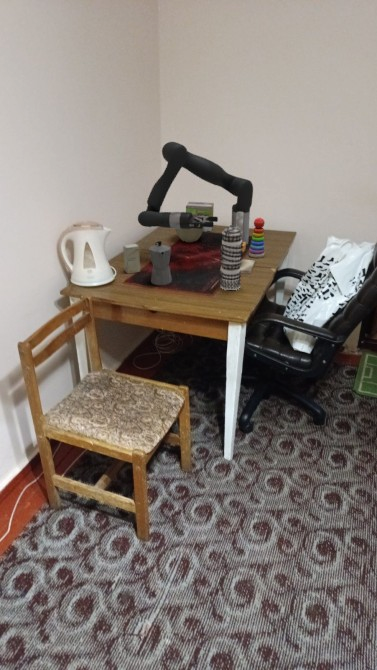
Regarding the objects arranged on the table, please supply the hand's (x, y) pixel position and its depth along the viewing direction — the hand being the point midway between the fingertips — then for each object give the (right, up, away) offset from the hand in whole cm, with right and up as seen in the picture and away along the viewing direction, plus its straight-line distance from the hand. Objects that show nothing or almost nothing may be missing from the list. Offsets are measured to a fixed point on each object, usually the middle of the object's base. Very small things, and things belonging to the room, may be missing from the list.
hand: (215, 221), depth 205 cm
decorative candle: (+6, -31, -13) cm, 34 cm away
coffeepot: (-24, -27, -5) cm, 37 cm away
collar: (+11, -12, +3) cm, 16 cm away
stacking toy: (+22, -12, +21) cm, 32 cm away
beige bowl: (-12, +1, +45) cm, 47 cm away
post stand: (+11, -19, +7) cm, 23 cm away
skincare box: (-38, -22, +5) cm, 44 cm away
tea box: (-6, +11, +63) cm, 65 cm away
